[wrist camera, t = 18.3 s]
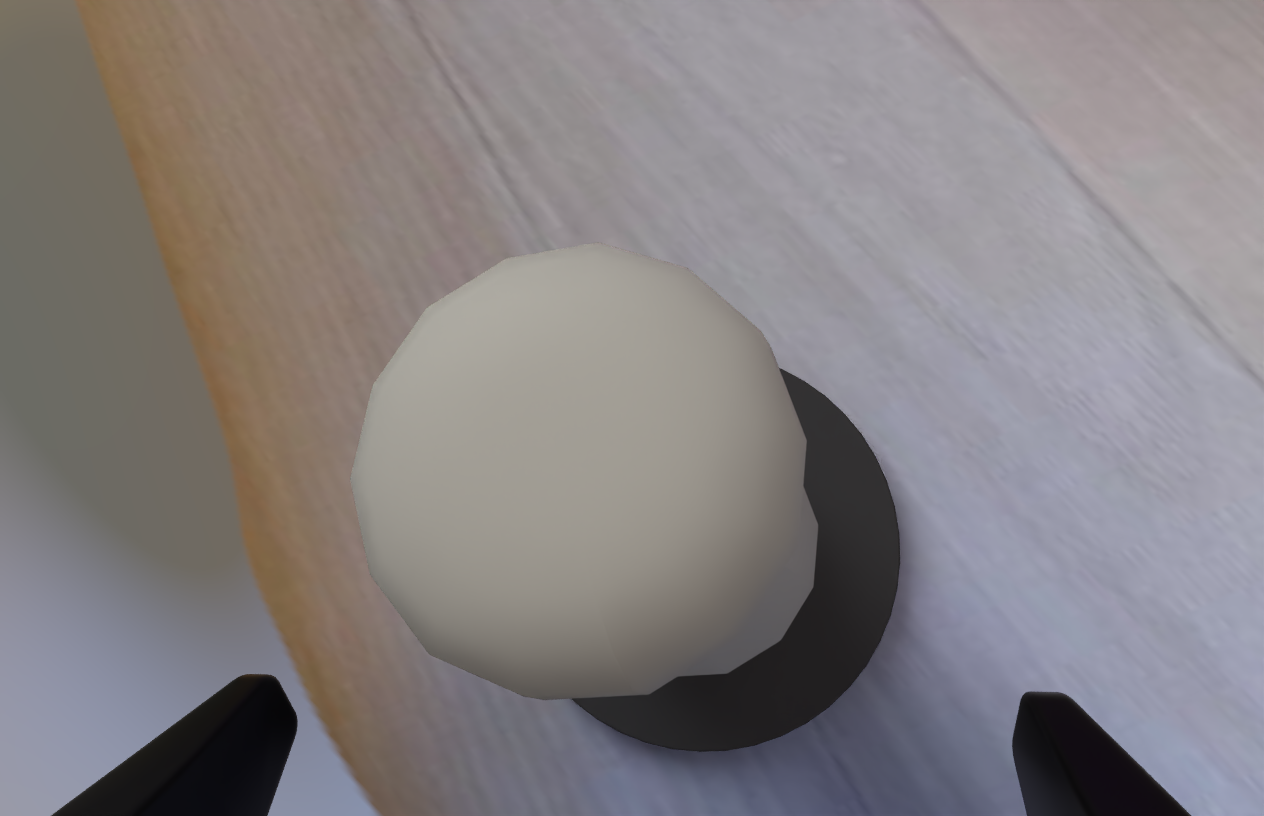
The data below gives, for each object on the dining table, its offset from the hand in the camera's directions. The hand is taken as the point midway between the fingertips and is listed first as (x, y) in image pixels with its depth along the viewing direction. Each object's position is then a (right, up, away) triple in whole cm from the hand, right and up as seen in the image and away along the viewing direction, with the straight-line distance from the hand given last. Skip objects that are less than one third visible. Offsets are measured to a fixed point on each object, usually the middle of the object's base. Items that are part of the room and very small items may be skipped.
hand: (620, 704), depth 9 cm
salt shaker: (+2, 0, +10) cm, 10 cm away
